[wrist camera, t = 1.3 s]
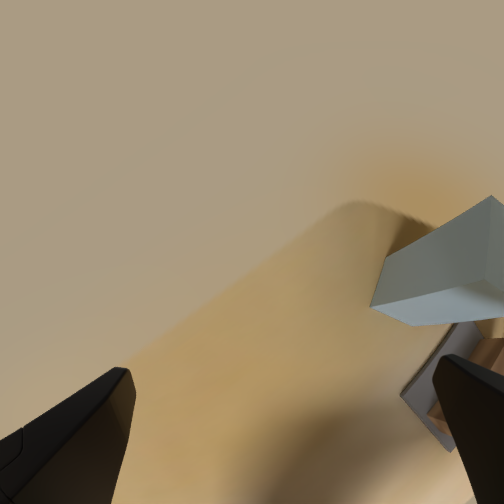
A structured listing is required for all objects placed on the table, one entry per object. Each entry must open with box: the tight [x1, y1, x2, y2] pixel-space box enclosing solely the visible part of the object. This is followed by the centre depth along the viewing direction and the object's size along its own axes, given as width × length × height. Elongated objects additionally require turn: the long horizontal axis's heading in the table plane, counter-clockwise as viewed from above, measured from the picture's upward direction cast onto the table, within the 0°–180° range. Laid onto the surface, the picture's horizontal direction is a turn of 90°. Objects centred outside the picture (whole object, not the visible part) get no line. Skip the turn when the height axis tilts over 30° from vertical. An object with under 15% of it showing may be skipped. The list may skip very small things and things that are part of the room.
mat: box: [400, 321, 484, 453], centre depth 20 cm, size 10×10×1 cm
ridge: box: [427, 338, 504, 436], centre depth 18 cm, size 3×9×4 cm, turn 131°
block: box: [370, 195, 504, 326], centre depth 16 cm, size 4×4×13 cm
